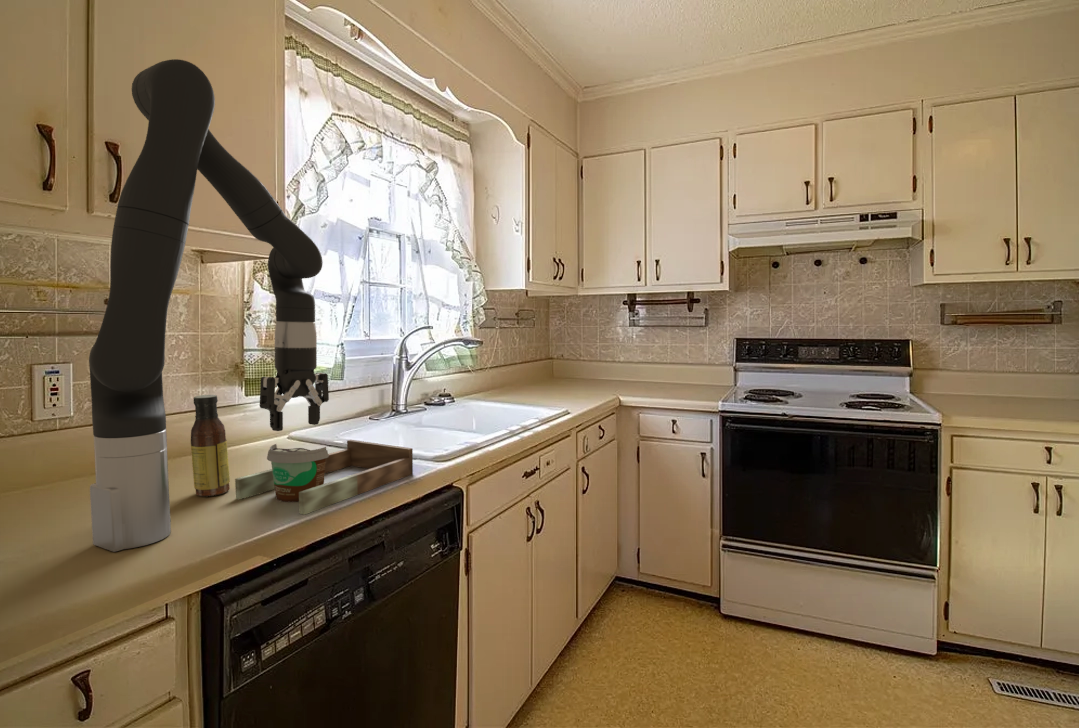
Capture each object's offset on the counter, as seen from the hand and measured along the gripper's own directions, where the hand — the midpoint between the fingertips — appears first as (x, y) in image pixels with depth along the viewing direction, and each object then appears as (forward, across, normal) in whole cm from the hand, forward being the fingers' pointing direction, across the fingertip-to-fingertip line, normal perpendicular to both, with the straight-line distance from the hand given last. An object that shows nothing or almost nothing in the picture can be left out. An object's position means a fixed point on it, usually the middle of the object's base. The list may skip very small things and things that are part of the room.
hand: (296, 427), depth 109 cm
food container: (+14, -1, 0) cm, 14 cm away
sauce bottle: (+14, -6, +17) cm, 23 cm away
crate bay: (+14, +8, 0) cm, 16 cm away
